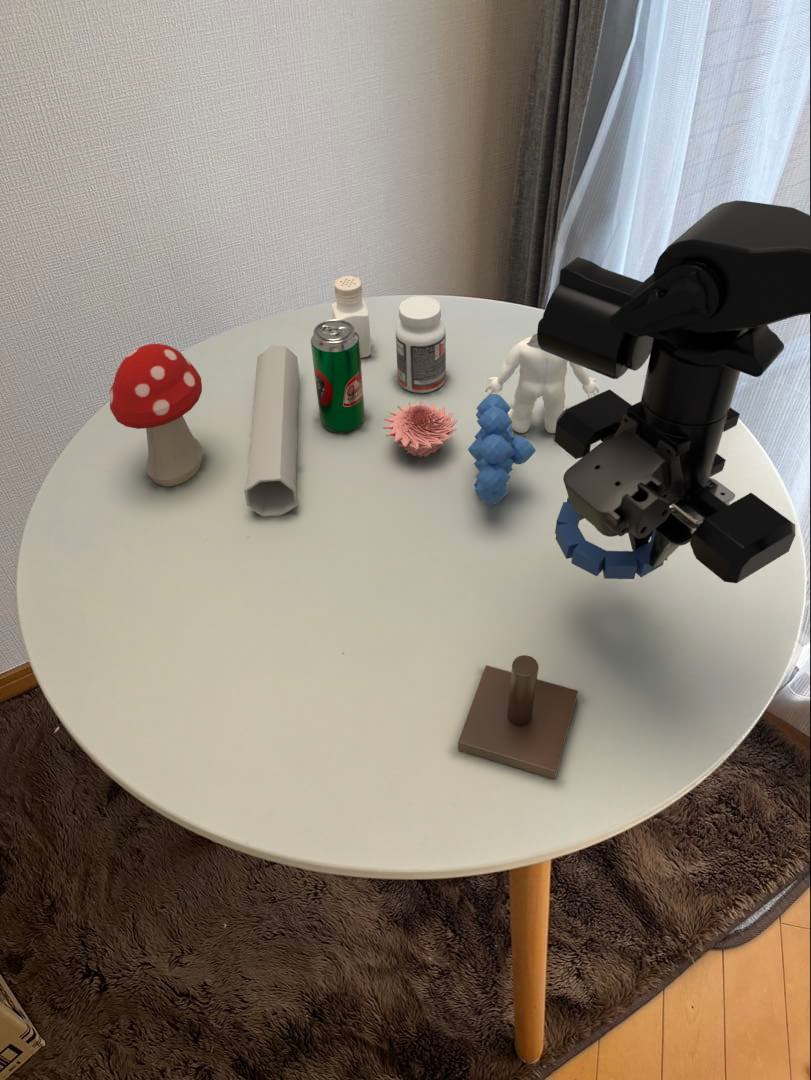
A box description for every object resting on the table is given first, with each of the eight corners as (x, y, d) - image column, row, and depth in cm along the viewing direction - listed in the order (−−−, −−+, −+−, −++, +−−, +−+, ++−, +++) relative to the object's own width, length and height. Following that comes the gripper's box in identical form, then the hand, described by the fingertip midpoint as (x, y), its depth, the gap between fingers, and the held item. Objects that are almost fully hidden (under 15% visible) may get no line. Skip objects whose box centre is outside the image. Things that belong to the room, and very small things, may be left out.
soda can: (355, 439, 100) (347, 348, 91) (313, 430, 101) (301, 339, 92) (371, 411, 103) (365, 321, 94) (330, 403, 104) (320, 313, 95)
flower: (448, 479, 95) (449, 438, 91) (375, 468, 96) (373, 428, 92) (463, 431, 100) (464, 391, 96) (393, 422, 101) (391, 382, 97)
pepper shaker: (372, 358, 110) (368, 289, 103) (340, 363, 110) (333, 294, 103) (365, 340, 113) (361, 271, 106) (334, 344, 112) (327, 276, 105)
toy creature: (588, 409, 102) (602, 318, 94) (593, 443, 98) (608, 351, 89) (482, 408, 103) (486, 317, 94) (483, 442, 99) (487, 351, 90)
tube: (248, 344, 106) (234, 488, 89) (289, 329, 105) (283, 471, 87) (268, 379, 110) (259, 523, 92) (308, 365, 108) (306, 508, 91)
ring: (678, 512, 76) (682, 498, 75) (658, 592, 70) (662, 579, 69) (571, 487, 78) (573, 474, 77) (543, 563, 72) (545, 550, 71)
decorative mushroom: (173, 430, 102) (142, 315, 91) (236, 452, 99) (211, 336, 88) (116, 484, 96) (74, 368, 85) (181, 509, 93) (147, 392, 82)
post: (576, 698, 76) (588, 639, 70) (554, 779, 71) (565, 723, 65) (485, 672, 78) (489, 613, 72) (457, 750, 73) (459, 693, 67)
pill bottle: (453, 373, 108) (454, 300, 100) (433, 399, 104) (433, 326, 97) (410, 361, 109) (408, 289, 102) (389, 387, 106) (385, 314, 99)
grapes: (534, 535, 89) (544, 442, 80) (465, 533, 89) (468, 441, 81) (529, 457, 97) (538, 365, 88) (466, 456, 97) (469, 364, 89)
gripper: (504, 372, 62) (494, 529, 74) (703, 530, 51) (655, 686, 63) (624, 320, 66) (597, 476, 78) (832, 457, 55) (766, 615, 67)
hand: (647, 556), depth 71 cm, fingers closed on ring, 1 cm apart
